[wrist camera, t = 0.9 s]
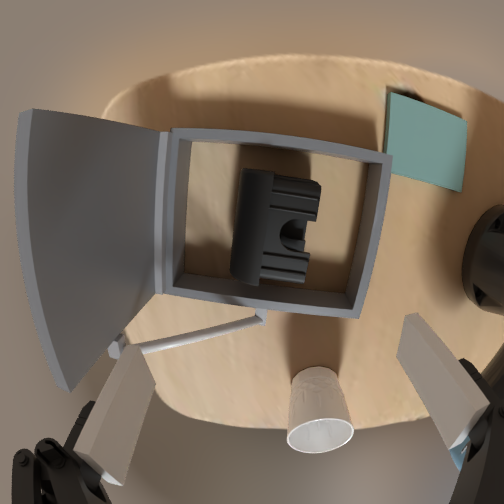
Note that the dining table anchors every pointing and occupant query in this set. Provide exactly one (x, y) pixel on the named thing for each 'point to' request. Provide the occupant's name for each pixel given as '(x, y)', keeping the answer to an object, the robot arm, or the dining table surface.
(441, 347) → the robot arm
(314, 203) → the end cap
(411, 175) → the rubber pad
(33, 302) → the case
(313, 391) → the white cup
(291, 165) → the dining table surface
